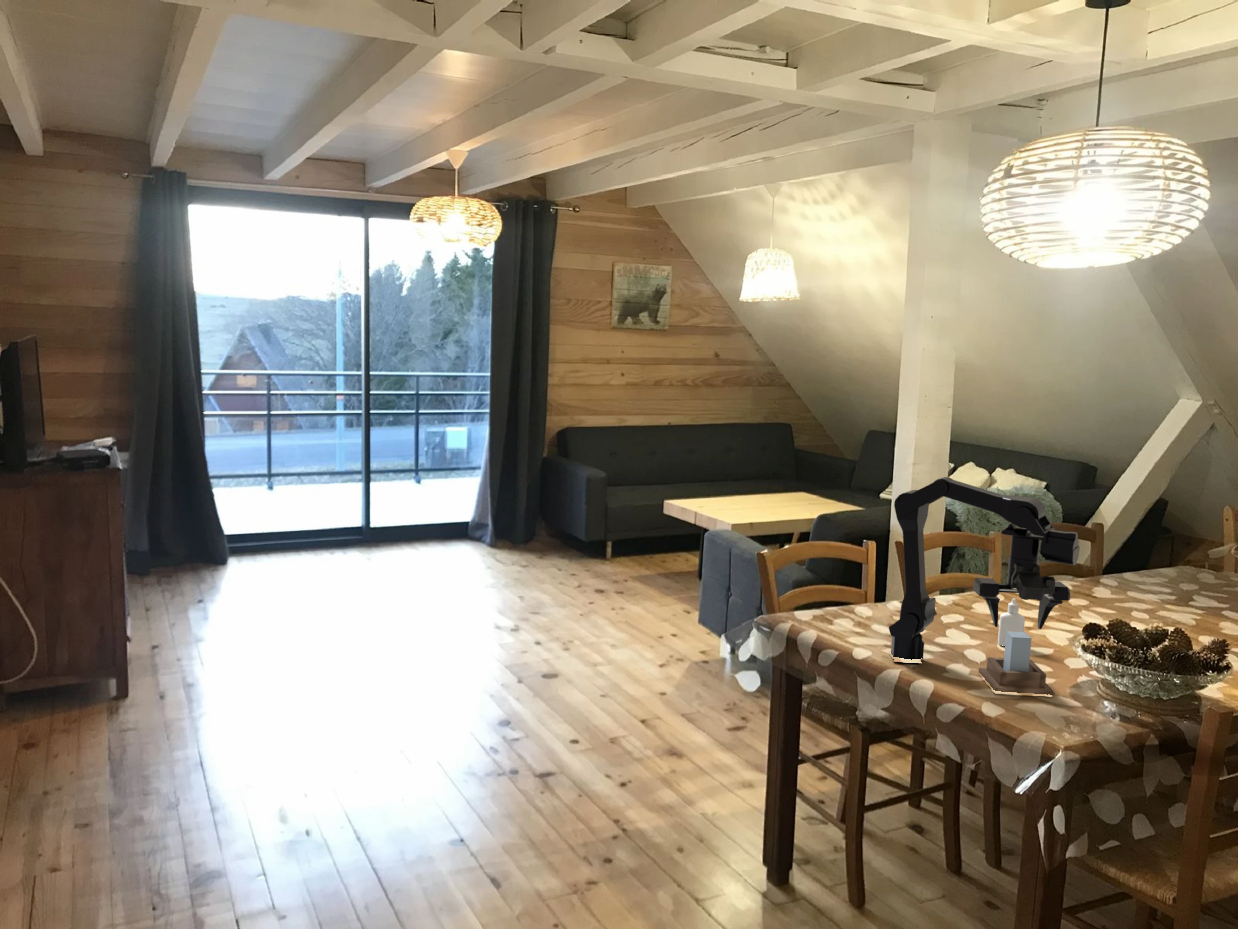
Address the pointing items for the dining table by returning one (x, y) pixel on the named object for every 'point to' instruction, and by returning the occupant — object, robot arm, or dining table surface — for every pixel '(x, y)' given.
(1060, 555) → the robot arm
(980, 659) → the dining table surface
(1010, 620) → the eye dropper bottle
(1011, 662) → the slate peg
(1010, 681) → the walnut holder
